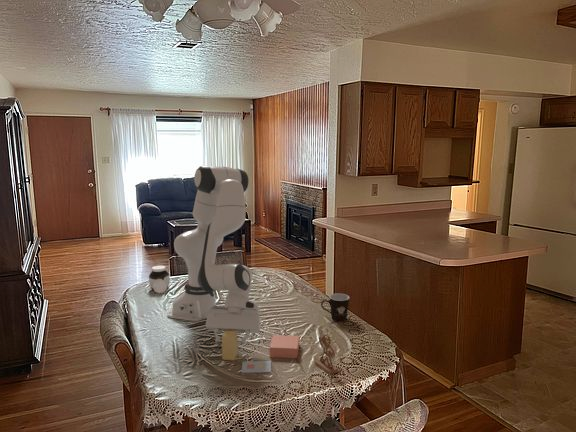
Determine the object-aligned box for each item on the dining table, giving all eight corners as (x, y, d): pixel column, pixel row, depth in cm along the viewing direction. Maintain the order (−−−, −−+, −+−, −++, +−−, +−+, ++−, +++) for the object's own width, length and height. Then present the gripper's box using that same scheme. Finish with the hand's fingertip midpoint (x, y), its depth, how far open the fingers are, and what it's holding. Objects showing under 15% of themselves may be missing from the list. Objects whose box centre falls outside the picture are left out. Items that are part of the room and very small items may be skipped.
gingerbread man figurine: (339, 371, 146) (339, 338, 144) (330, 374, 144) (330, 341, 142) (323, 360, 154) (323, 328, 152) (314, 363, 152) (314, 331, 150)
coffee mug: (350, 316, 192) (351, 294, 190) (346, 323, 184) (347, 301, 182) (325, 312, 196) (325, 291, 194) (320, 320, 188) (320, 298, 186)
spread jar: (162, 284, 234) (161, 263, 232) (176, 288, 228) (175, 267, 226) (144, 290, 225) (142, 269, 223) (157, 295, 218) (156, 273, 216)
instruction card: (241, 372, 146) (241, 371, 146) (242, 362, 153) (242, 361, 153) (270, 372, 146) (270, 371, 146) (270, 361, 153) (270, 360, 153)
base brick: (269, 357, 157) (269, 347, 156) (273, 344, 166) (273, 335, 166) (297, 358, 156) (297, 348, 155) (299, 345, 165) (299, 336, 165)
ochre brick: (222, 359, 155) (221, 335, 153) (225, 353, 159) (225, 330, 158) (234, 360, 154) (233, 336, 153) (237, 354, 159) (237, 331, 157)
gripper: (207, 302, 162) (200, 338, 154) (261, 304, 159) (256, 341, 152) (211, 308, 167) (204, 344, 159) (263, 311, 165) (259, 347, 157)
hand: (230, 342), depth 155 cm, fingers open, 8 cm apart
